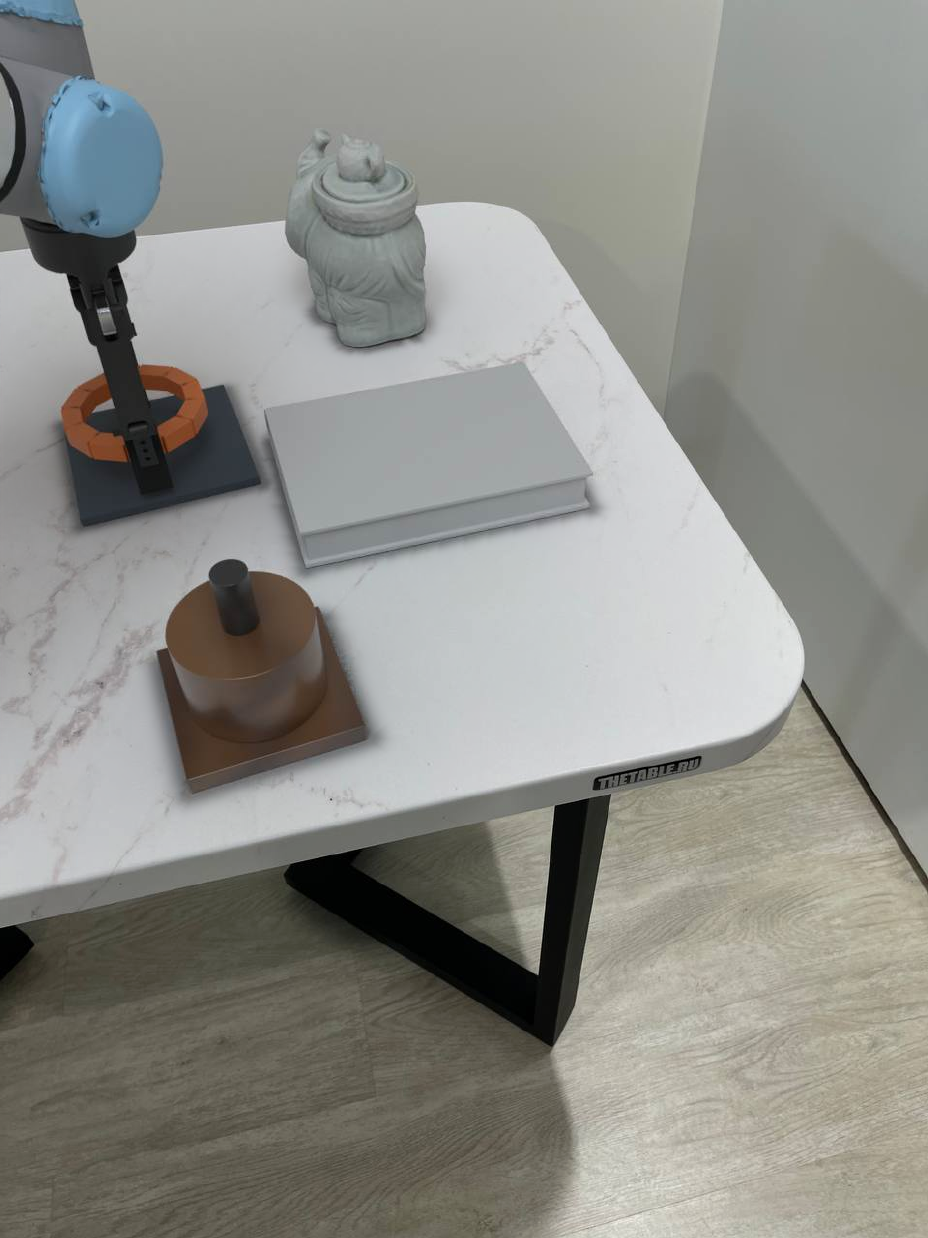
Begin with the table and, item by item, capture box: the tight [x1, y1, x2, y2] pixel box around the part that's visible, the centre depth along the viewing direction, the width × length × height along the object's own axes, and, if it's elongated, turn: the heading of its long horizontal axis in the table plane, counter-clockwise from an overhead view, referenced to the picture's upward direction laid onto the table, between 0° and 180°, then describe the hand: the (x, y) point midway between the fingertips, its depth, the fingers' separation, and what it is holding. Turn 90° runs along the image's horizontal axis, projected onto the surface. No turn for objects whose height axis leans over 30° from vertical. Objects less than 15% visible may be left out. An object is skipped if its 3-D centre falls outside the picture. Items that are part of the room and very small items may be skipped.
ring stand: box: [155, 558, 368, 794], centre depth 66 cm, size 12×12×12 cm
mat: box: [61, 384, 262, 527], centre depth 90 cm, size 15×15×1 cm
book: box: [263, 361, 594, 569], centre depth 87 cm, size 18×4×24 cm
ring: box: [60, 363, 208, 462], centre depth 86 cm, size 12×12×2 cm
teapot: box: [284, 127, 427, 348], centre depth 100 cm, size 16×15×19 cm
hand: (145, 446), depth 88 cm, fingers closed on ring, 12 cm apart
